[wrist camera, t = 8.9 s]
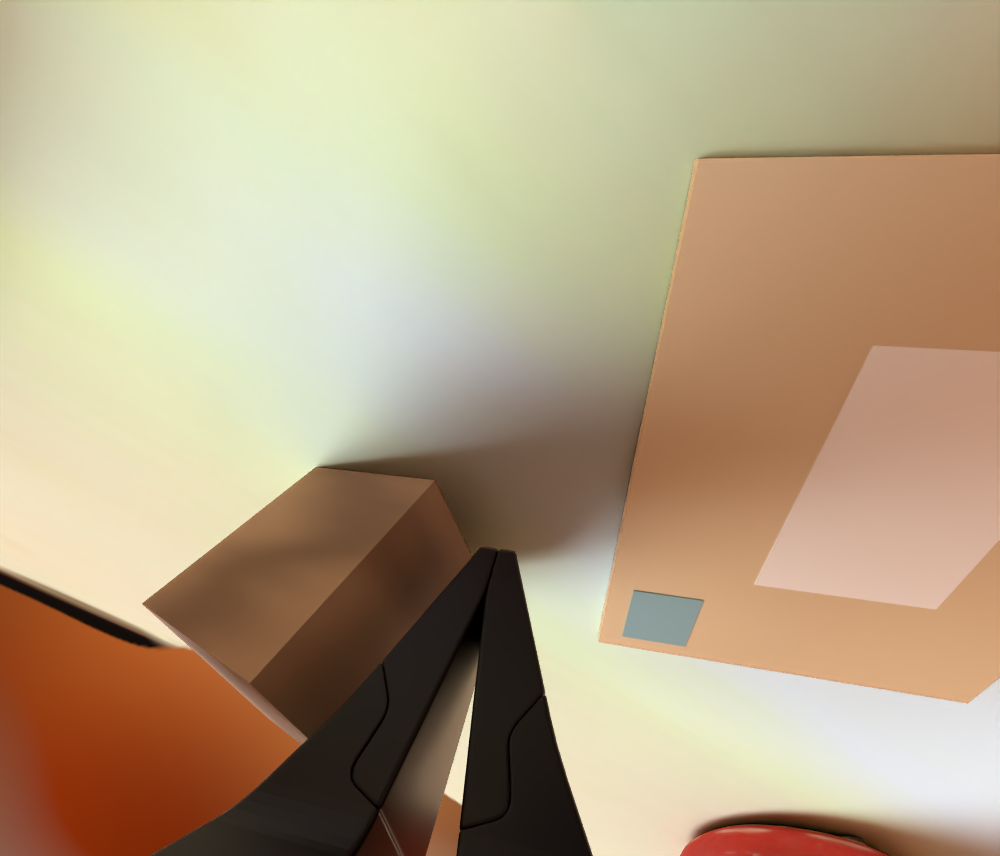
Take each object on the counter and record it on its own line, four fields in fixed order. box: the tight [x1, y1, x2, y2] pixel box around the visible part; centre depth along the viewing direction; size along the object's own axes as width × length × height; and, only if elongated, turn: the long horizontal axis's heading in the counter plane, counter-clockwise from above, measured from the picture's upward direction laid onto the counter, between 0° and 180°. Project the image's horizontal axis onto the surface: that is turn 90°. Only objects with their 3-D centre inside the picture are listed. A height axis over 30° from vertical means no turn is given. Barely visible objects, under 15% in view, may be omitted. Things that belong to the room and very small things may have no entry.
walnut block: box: [142, 467, 472, 745], centre depth 11 cm, size 5×5×5 cm
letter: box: [599, 154, 1000, 703], centre depth 10 cm, size 11×14×1 cm
